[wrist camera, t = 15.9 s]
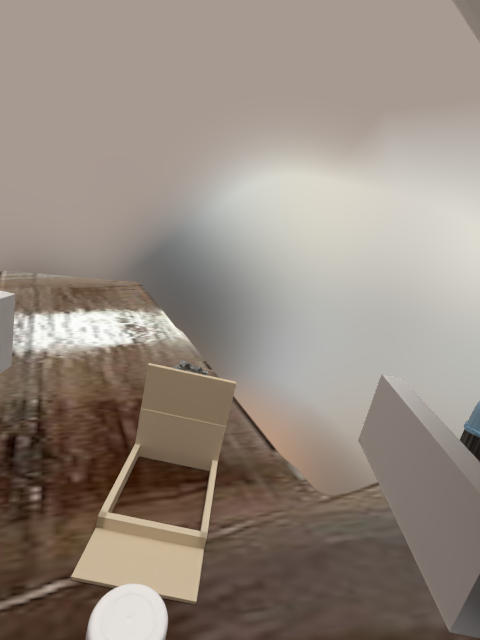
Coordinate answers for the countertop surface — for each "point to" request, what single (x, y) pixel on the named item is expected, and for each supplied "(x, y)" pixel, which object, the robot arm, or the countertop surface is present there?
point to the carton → (173, 447)
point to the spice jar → (129, 615)
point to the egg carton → (190, 368)
